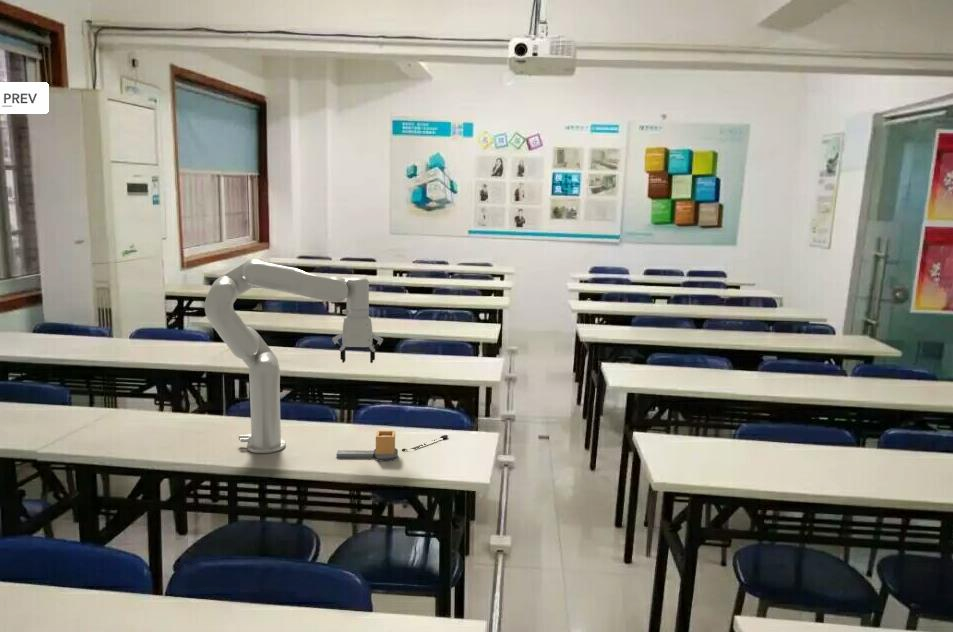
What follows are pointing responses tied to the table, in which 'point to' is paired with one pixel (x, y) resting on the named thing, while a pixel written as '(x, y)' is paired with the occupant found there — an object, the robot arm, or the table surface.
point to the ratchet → (367, 454)
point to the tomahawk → (425, 444)
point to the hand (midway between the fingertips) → (357, 361)
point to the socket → (385, 442)
